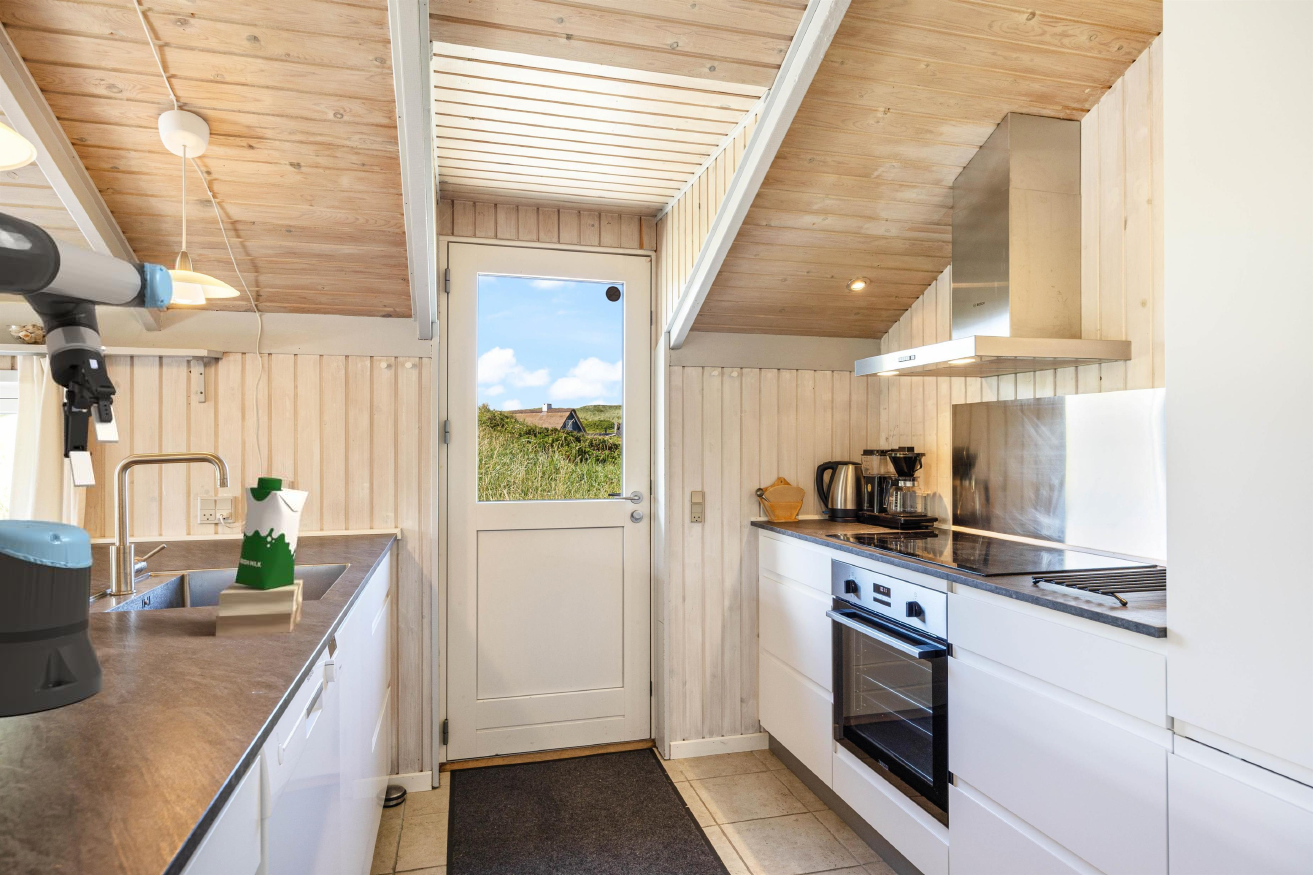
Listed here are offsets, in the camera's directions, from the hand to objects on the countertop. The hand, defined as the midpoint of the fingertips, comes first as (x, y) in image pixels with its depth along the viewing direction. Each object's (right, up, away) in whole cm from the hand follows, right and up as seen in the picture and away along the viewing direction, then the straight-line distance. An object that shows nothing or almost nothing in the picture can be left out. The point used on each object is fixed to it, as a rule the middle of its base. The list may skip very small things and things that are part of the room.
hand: (96, 464), depth 118 cm
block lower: (+17, -32, +19) cm, 40 cm away
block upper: (+17, -28, +19) cm, 38 cm away
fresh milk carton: (+17, -23, +19) cm, 35 cm away
